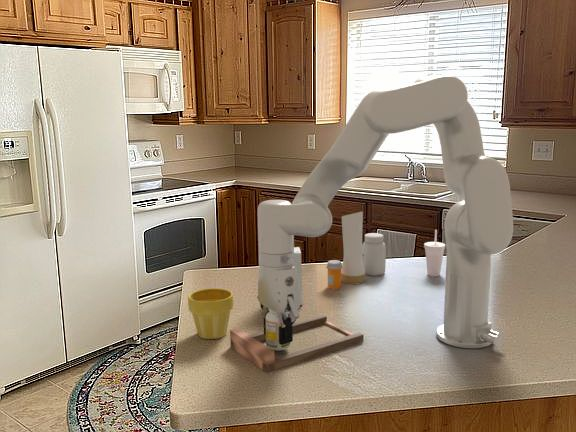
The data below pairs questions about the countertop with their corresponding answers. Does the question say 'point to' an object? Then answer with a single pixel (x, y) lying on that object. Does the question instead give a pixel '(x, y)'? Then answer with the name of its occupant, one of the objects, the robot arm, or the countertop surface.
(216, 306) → the plant pot
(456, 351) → the countertop surface
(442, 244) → the smoothie
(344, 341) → the frame
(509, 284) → the countertop surface
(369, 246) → the toiletry set
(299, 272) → the skincare box
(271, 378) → the countertop surface
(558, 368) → the countertop surface
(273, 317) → the supplement bottle
